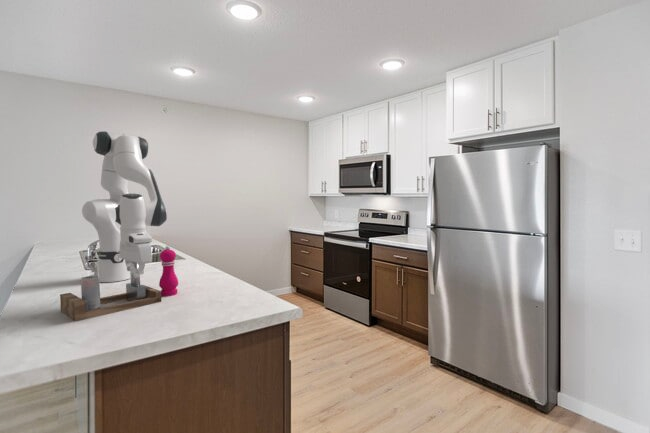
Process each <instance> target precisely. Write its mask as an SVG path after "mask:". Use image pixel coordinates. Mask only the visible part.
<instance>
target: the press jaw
mask: <svg viewBox="0 0 650 433" xmlns="http://www.w3.org/2000/svg"><path fill="white" fill-rule="evenodd" d="M137 270H138V263H136V262H133V261H132V262H130V278H129V279H130V282H128V283H126V284H125V291H126V292H125V293H126V296H127V299H126V300H128V301H129V302H131V301H136V300H140V299H145V298H146V292H145V286H146V285H145V286H143V285H144V284H141V275H139V274H137Z"/></svg>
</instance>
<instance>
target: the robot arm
mask: <svg viewBox="0 0 650 433" xmlns="http://www.w3.org/2000/svg"><path fill="white" fill-rule="evenodd" d="M92 147H93V150H94V152H95V153H96V154H97V155H98V154H99V155H101V156H103V160H102V165H101V174H100V175H101V177H100V186H101V187H102V189H103V190H105V191H106V192H108V194H109V199H107V198H103V199H99V198H97V199H92V200H89V201H86V202H85V203H84V204H83V206H82V208H81V214H82V217H83V218H84V220H85V221H87V222H89V223H90V224H91V225H92V226H93V227H94V229H95V231H96V232H97V235H98V240H99V241H98V243H99V251H98V260H97V261H96V263H95V264H94V266H93V267H91V269H90V270H91V273H93V274H91V275H89V276H98V277H99V283H112V282H113V283H114V282H121V281H125V280H129V279H130V262H132V261H133V262H136V263H138V270H137V274H139V275H140V276H141V275H143V274H144V269H145V266H146V264H149V263H150V262H151V260H152V244H151V243H152V242H153V237H152V235H151V234H149V232H148V231H147V227H160V226H162V225H163V224H164V223H165V222H166V221H167V217H168V211H167V208H166V207H165V204H164V201H163V198H162V196H161V193H160V192H161V191H160V190H159V186H158V184H157V181H156V180H157V179H156V178H155V176H154V173H153V171H152V170H151V169H150V168H148V167H147V166H146V164H144V161H143V160H144V159H146V158H147V156H148V154H149V150H150V148H149V143H148V141H147V139H145V138H143V137H141V136H135V135H131V134H126V133H119V132H107V131H98V132H96V133H95V135H94V136H93V138H92ZM129 182H134V183H136V184H138V185H140V186H142V187H144V188H145V189H146V192H147V194H148V197H149V200H150V201H148V202H147V201H146V202H145V199H144V195H142V194H140V193H129ZM116 223H117V224H118V225H120V229H119V228H118V227H117V225H116Z"/></svg>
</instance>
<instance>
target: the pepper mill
mask: <svg viewBox="0 0 650 433" xmlns="http://www.w3.org/2000/svg"><path fill="white" fill-rule="evenodd" d="M164 248H165V249H164V250H162V251H161V252H160V254H159V258H160V259H159V260H161V266H162V273H161V276H160V279H159V282H158V283H159V284H158V286H159V288H160V289H161V290H160V291H161V297H171V296H175V295H177V294H178V288H177V287H178V286H179V280H178V277H177V275H176V273H175V269H174V268H175V265H176V264H175V259H176V257H177V254H176V252H175V250H173V249H171V247H170V246H169V245H166V246H165V247H164Z"/></svg>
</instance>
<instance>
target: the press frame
mask: <svg viewBox="0 0 650 433" xmlns="http://www.w3.org/2000/svg"><path fill="white" fill-rule="evenodd" d="M142 285H143V286H145V292H146V298H145V299H140V300H136V301H127V302H123V303H118V304H113V305H109V306H104V307H100V308H99V309H94V310H89V311H86V307H85V301H84V300H83V299H82V297H80V296H77V295H76V294H73V293H71V292H67V293H61V294H59V297H60V298H59V300H60V311H61V313H63V314H64V315H66V316H67V317H69V318H70V319H72V321H74V322H79V321H82V320H88V319H92V318H95V317H100V316H104V315H108V314H114V313H118V312H122V311H126V310H132V309H134V308H135V309H136V308H140V307H144V306H147V305H152V304H156V303H160V302H161V303H162V295H161V290H158V289H155V288H153V287H151V286H147V285H145V284H142ZM123 300H128V299H127V296H126V292H123V293H119V294H114V295H113V294H112V295H108V296H104V297H100V306H101V305H105V304H110V303H113V302H114V303H115V302H121V301H123Z"/></svg>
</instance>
